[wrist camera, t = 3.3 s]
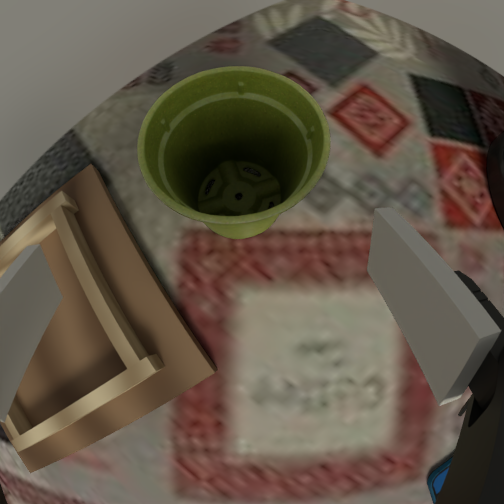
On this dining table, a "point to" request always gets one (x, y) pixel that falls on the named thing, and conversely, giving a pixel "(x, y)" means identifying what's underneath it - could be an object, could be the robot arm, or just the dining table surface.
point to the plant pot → (233, 147)
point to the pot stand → (95, 329)
